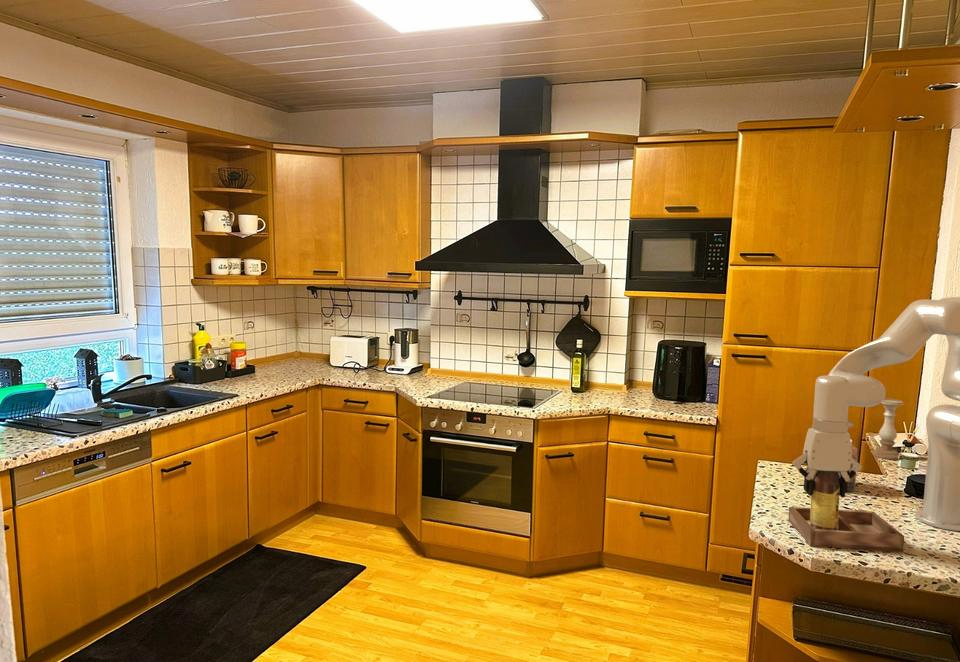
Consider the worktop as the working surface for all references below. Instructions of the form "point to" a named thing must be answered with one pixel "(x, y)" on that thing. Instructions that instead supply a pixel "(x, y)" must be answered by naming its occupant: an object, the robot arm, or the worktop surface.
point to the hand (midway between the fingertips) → (824, 494)
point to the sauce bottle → (825, 501)
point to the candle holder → (888, 431)
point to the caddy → (849, 531)
